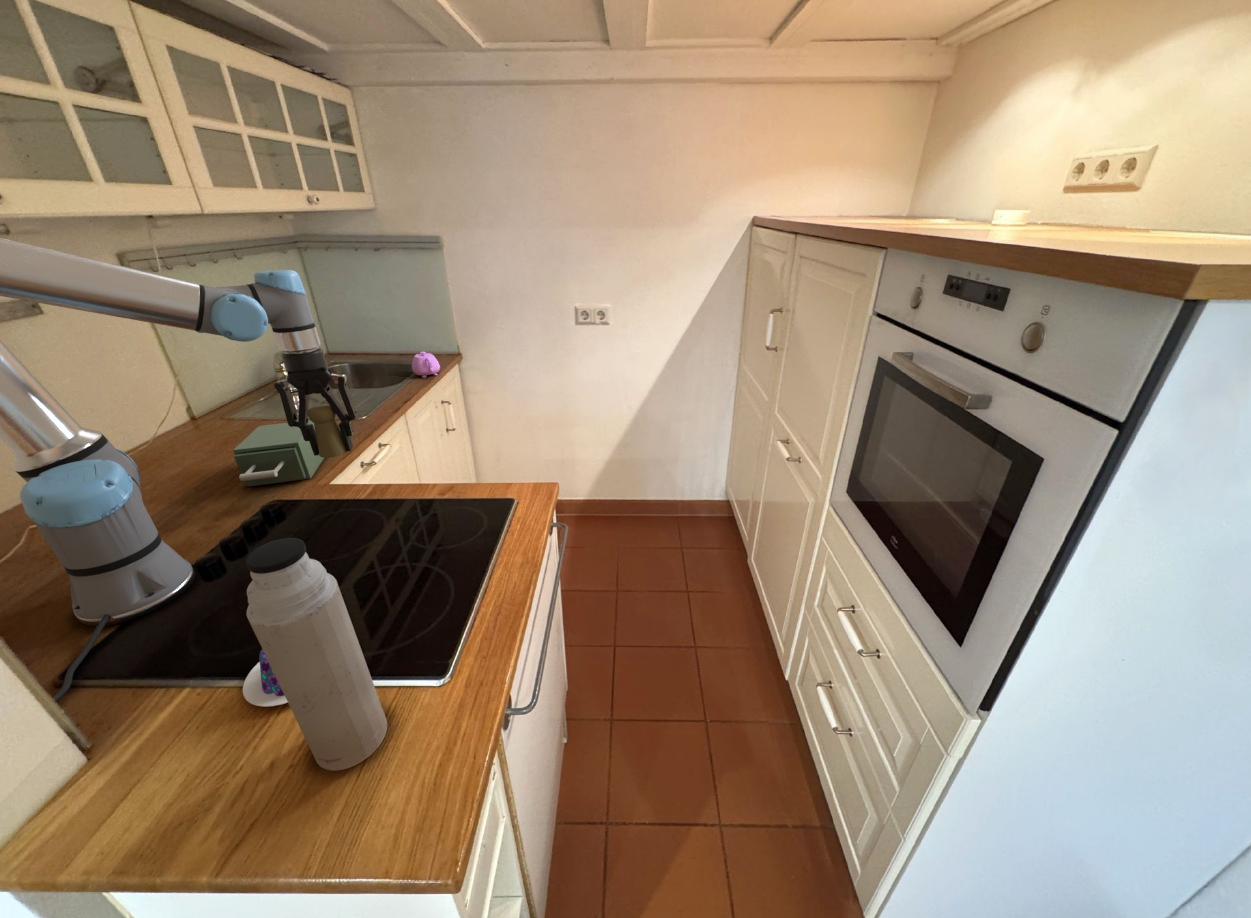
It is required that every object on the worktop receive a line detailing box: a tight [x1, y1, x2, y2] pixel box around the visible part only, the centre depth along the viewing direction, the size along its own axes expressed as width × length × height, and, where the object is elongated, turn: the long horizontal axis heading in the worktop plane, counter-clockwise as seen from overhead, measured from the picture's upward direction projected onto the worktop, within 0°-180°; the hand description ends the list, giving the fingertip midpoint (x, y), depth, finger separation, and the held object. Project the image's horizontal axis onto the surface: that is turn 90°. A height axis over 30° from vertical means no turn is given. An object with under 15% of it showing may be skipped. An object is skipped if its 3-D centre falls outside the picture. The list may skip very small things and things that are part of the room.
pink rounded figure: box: [411, 351, 441, 379], centre depth 202 cm, size 10×15×9 cm
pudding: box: [242, 648, 288, 707], centre depth 69 cm, size 12×12×5 cm
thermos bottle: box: [245, 537, 388, 772], centre depth 54 cm, size 8×8×28 cm
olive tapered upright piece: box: [308, 403, 347, 459], centre depth 111 cm, size 6×6×11 cm
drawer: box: [234, 446, 306, 487], centre depth 122 cm, size 21×13×8 cm, turn 14°
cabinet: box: [232, 419, 325, 487], centre depth 127 cm, size 16×14×10 cm
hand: (334, 450), depth 113 cm, fingers closed on olive tapered upright piece, 6 cm apart
